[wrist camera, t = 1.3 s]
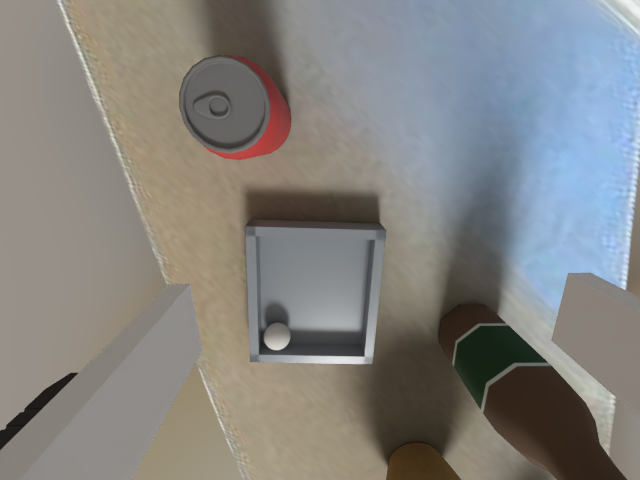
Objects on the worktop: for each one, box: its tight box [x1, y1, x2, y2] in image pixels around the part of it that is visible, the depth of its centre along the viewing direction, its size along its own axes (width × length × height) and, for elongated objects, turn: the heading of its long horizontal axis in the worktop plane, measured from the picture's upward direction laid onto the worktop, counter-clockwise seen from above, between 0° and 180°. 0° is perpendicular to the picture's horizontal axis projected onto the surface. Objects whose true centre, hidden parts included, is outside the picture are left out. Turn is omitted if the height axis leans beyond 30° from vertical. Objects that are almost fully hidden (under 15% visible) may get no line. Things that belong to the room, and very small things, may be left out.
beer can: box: [179, 55, 291, 160], centre depth 25 cm, size 7×7×12 cm
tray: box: [245, 219, 386, 364], centre depth 34 cm, size 16×14×3 cm
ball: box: [264, 323, 290, 350], centre depth 35 cm, size 3×3×3 cm
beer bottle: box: [439, 305, 627, 480], centre depth 26 cm, size 8×8×24 cm
